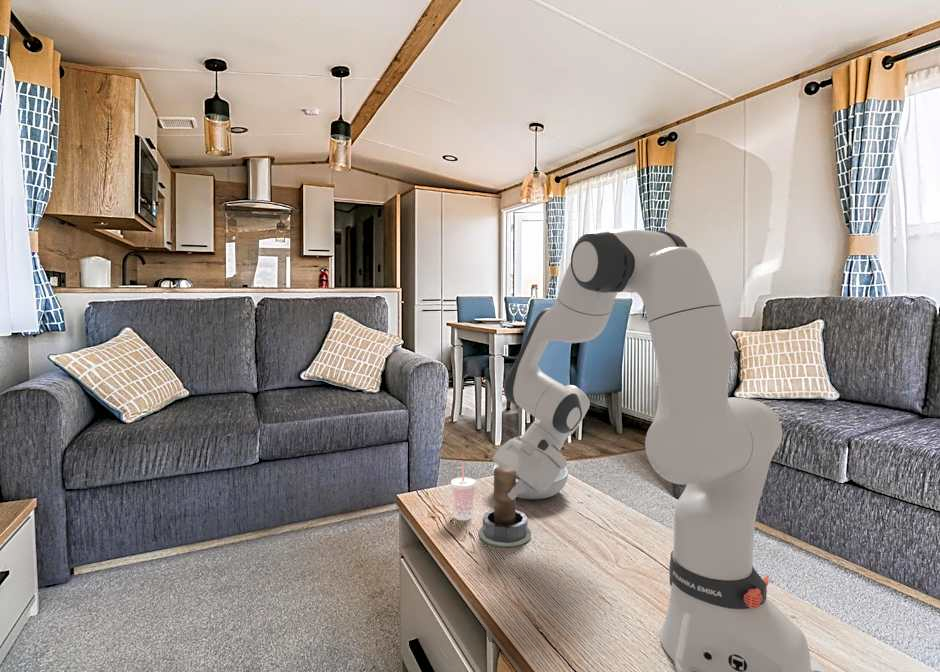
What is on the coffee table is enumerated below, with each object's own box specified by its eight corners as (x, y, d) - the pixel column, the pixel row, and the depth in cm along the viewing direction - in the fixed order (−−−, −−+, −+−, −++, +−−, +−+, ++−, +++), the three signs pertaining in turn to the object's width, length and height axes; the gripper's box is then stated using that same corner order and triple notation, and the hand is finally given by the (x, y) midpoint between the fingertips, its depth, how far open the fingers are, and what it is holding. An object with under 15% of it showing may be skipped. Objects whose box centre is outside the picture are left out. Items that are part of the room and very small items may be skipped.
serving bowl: (484, 502, 137) (483, 477, 137) (503, 476, 157) (503, 454, 157) (562, 512, 131) (562, 486, 130) (572, 484, 151) (572, 461, 150)
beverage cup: (480, 518, 128) (480, 463, 127) (459, 523, 125) (458, 467, 123) (467, 509, 133) (467, 456, 132) (446, 514, 130) (446, 460, 129)
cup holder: (541, 534, 119) (541, 517, 118) (507, 553, 110) (507, 534, 110) (503, 518, 127) (503, 502, 127) (468, 534, 119) (468, 517, 119)
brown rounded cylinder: (519, 520, 119) (520, 470, 118) (505, 527, 115) (505, 475, 114) (503, 514, 122) (504, 464, 121) (489, 520, 119) (489, 470, 118)
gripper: (509, 426, 129) (474, 470, 126) (555, 449, 111) (515, 500, 108) (524, 441, 132) (490, 484, 128) (572, 466, 113) (533, 517, 110)
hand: (502, 492), depth 118 cm, fingers closed on brown rounded cylinder, 5 cm apart
